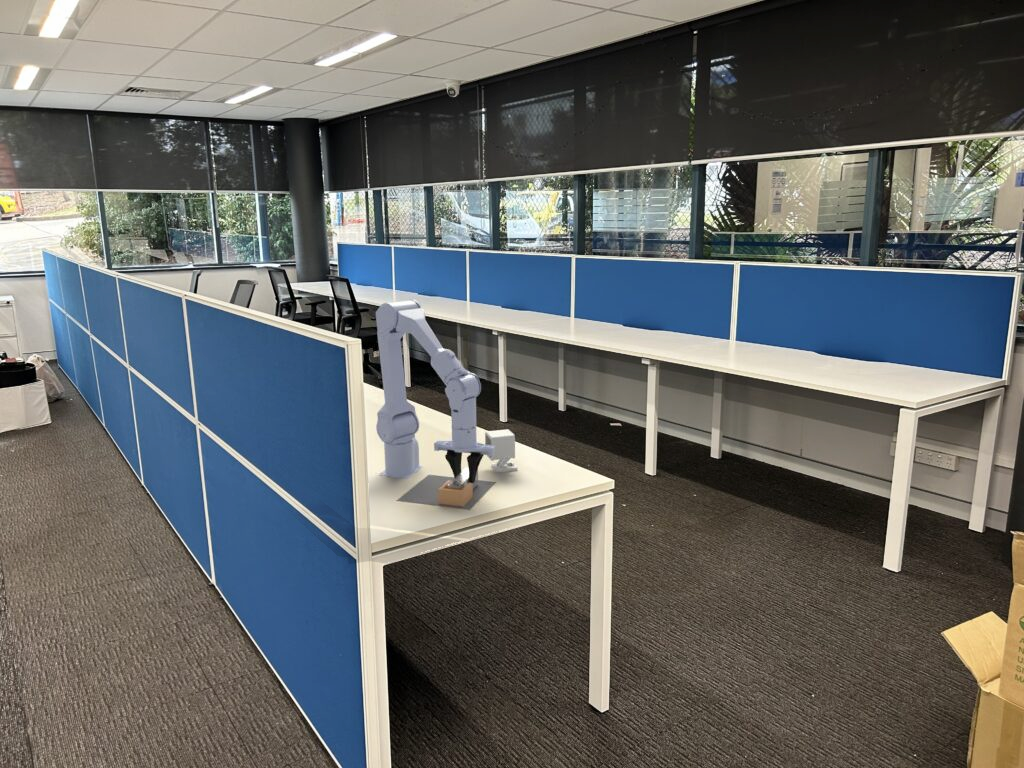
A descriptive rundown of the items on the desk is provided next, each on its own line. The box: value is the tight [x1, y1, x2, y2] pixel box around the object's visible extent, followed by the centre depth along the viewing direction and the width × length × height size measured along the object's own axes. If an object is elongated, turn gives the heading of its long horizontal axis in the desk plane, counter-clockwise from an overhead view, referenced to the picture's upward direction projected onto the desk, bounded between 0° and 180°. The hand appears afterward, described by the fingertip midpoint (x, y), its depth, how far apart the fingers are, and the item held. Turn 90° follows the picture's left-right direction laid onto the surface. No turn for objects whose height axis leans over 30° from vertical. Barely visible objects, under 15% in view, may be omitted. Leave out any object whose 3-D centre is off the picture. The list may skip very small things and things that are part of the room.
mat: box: [396, 474, 497, 511], centre depth 175 cm, size 18×18×1 cm
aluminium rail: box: [447, 466, 479, 490], centre depth 173 cm, size 12×3×4 cm, turn 162°
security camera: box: [484, 428, 518, 473], centre depth 189 cm, size 6×7×10 cm
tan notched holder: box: [438, 480, 473, 507], centre depth 169 cm, size 6×6×4 cm
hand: (465, 481), depth 174 cm, fingers closed on aluminium rail, 3 cm apart
